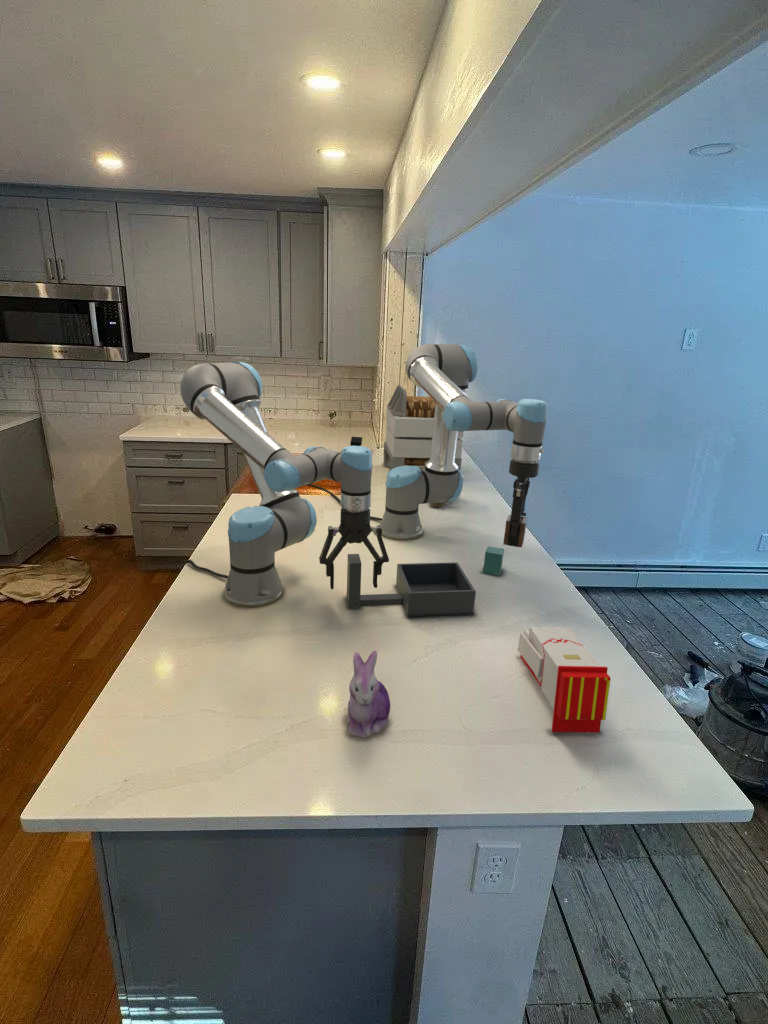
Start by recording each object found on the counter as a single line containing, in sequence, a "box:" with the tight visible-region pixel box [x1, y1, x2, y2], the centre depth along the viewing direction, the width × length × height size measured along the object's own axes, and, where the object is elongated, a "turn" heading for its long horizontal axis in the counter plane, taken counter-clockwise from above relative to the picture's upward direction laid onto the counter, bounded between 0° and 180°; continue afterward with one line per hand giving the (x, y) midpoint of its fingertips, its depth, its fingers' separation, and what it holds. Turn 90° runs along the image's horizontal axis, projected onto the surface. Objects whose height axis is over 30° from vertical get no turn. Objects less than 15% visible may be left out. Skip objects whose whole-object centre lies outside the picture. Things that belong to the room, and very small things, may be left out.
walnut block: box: [502, 514, 528, 549], centre depth 155 cm, size 5×5×7 cm
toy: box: [517, 626, 611, 734], centre depth 119 cm, size 12×13×30 cm
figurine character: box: [349, 436, 363, 446], centre depth 307 cm, size 7×8×15 cm
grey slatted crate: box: [383, 384, 465, 472], centre depth 268 cm, size 34×33×41 cm
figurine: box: [346, 650, 391, 738], centre depth 106 cm, size 9×10×15 cm
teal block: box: [482, 545, 505, 577], centre depth 173 cm, size 5×5×7 cm
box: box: [346, 553, 477, 618], centre depth 152 cm, size 32×18×13 cm, turn 99°
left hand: (353, 586), depth 150 cm, fingers open, 11 cm apart
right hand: (513, 541), depth 156 cm, fingers closed on walnut block, 5 cm apart
